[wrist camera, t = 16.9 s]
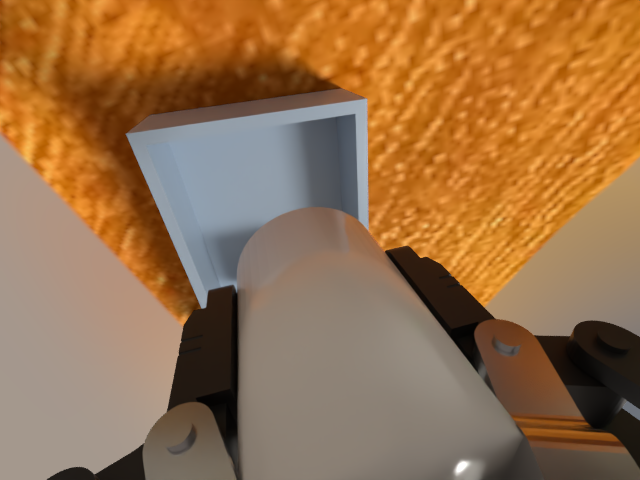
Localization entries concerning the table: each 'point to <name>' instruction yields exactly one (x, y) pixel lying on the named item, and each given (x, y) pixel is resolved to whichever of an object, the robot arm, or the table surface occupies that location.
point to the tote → (250, 172)
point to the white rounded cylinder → (352, 366)
